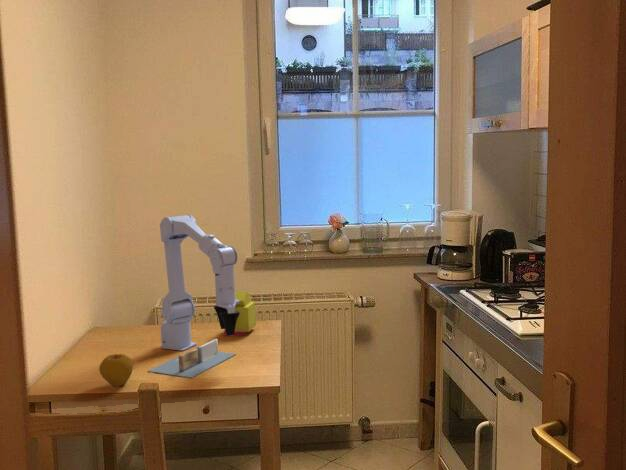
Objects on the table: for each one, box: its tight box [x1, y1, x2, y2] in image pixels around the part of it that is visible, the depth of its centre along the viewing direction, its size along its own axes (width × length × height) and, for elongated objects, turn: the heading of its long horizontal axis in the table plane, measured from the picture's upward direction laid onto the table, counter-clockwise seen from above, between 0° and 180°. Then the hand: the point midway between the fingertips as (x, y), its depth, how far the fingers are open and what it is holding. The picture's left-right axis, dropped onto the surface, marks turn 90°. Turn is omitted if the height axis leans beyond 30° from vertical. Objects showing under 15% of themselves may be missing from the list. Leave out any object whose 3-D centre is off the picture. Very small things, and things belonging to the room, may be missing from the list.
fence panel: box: [177, 347, 199, 372], centre depth 192 cm, size 8×1×5 cm, turn 154°
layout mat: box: [147, 351, 237, 379], centre depth 198 cm, size 16×23×1 cm
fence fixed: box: [195, 338, 219, 363], centre depth 201 cm, size 1×10×5 cm, turn 154°
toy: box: [223, 290, 257, 337], centre depth 230 cm, size 13×10×15 cm
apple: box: [98, 353, 134, 387], centre depth 180 cm, size 9×9×9 cm
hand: (227, 331), depth 195 cm, fingers open, 7 cm apart
